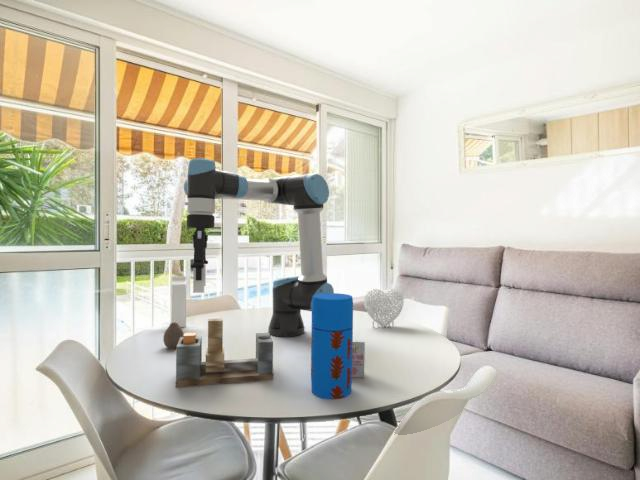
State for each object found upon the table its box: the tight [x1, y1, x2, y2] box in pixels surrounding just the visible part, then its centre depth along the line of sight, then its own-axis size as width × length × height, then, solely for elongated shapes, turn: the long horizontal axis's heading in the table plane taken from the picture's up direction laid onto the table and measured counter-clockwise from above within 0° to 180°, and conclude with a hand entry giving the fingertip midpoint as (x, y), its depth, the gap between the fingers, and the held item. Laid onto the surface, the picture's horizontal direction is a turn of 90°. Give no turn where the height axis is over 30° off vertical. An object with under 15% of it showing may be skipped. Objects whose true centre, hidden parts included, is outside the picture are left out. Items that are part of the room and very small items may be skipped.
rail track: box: [175, 332, 274, 388], centre depth 111 cm, size 26×12×11 cm, turn 104°
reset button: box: [183, 332, 197, 344], centre depth 108 cm, size 3×3×2 cm
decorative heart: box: [363, 288, 405, 328], centre depth 172 cm, size 18×11×17 cm, turn 97°
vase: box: [163, 322, 185, 350], centre depth 137 cm, size 7×7×9 cm
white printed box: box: [352, 341, 366, 380], centre depth 112 cm, size 4×7×10 cm, turn 85°
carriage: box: [205, 318, 225, 372], centre depth 110 cm, size 5×7×14 cm
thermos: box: [310, 292, 354, 400], centre depth 101 cm, size 11×11×25 cm
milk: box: [170, 275, 187, 328], centre depth 169 cm, size 6×6×22 cm
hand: (199, 289), depth 108 cm, fingers open, 13 cm apart
